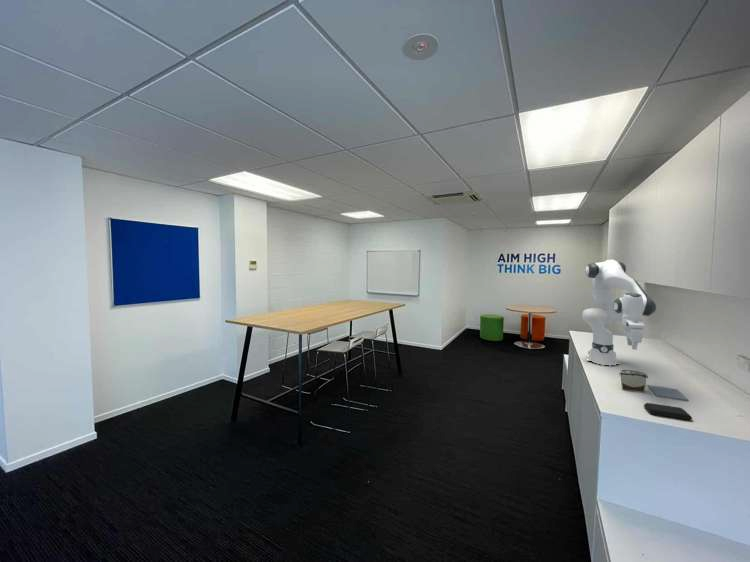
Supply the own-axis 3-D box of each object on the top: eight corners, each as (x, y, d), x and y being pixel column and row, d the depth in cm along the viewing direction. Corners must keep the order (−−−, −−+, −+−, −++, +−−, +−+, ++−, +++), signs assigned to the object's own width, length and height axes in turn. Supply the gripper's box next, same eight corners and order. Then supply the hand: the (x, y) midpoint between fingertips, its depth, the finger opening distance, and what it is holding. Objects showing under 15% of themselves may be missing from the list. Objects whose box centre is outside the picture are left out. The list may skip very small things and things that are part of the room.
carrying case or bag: (682, 412, 138) (641, 406, 145) (682, 405, 138) (641, 400, 145) (693, 423, 129) (649, 415, 135) (694, 416, 129) (649, 409, 135)
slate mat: (647, 386, 167) (647, 384, 167) (676, 390, 161) (676, 388, 161) (656, 396, 154) (656, 395, 154) (688, 401, 148) (688, 399, 148)
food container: (642, 388, 165) (643, 370, 164) (647, 392, 159) (648, 374, 158) (615, 385, 170) (615, 368, 169) (619, 389, 164) (619, 371, 164)
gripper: (620, 319, 173) (620, 342, 174) (629, 325, 156) (629, 351, 156) (634, 320, 170) (634, 343, 171) (645, 326, 152) (645, 352, 153)
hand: (632, 347), depth 163 cm, fingers open, 8 cm apart
